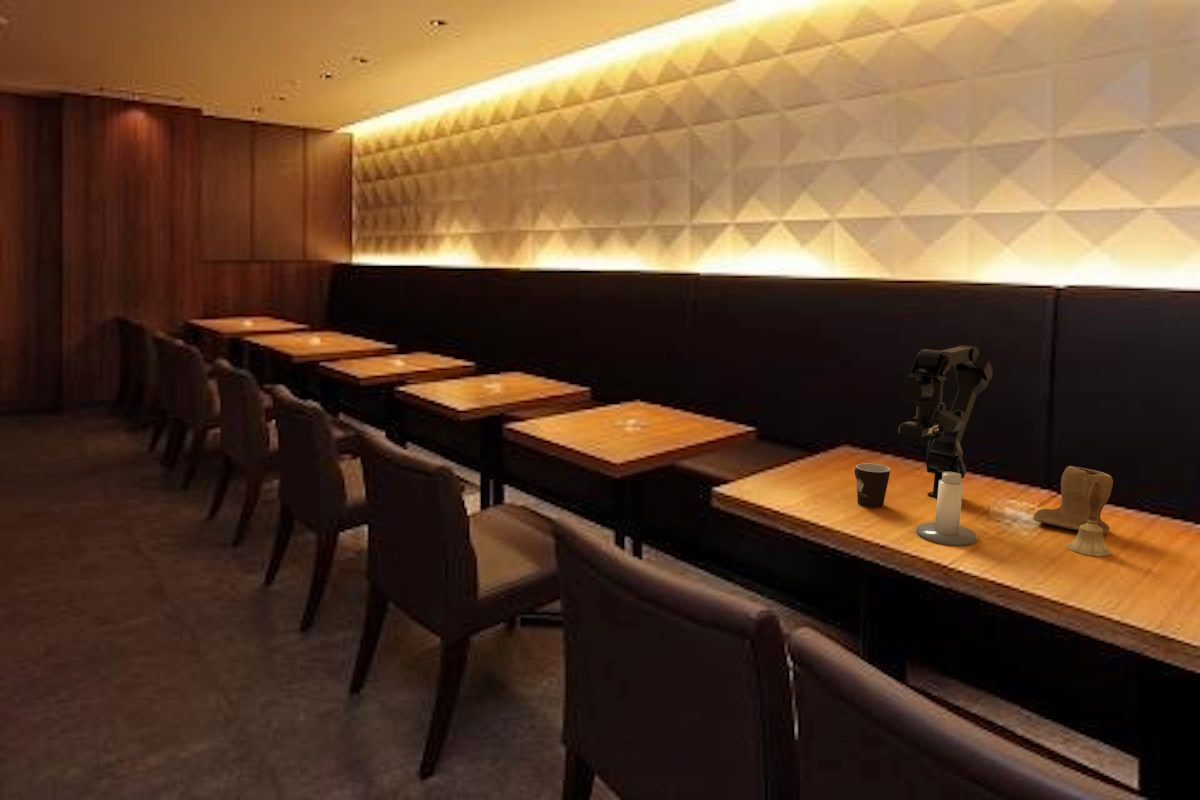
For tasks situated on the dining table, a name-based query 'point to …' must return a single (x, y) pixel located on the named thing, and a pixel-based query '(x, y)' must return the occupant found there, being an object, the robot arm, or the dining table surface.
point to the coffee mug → (871, 484)
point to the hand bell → (1091, 528)
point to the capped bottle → (949, 504)
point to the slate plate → (961, 539)
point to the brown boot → (1077, 499)
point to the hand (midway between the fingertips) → (924, 457)
